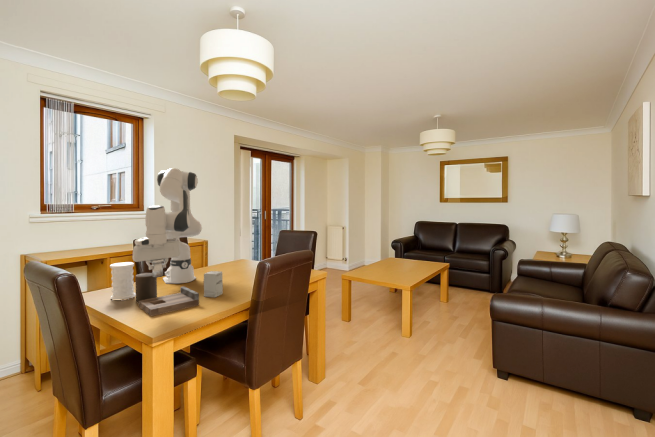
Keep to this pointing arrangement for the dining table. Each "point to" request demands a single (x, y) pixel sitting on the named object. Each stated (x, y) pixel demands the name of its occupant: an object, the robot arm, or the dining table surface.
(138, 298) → the pillar candle
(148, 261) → the robot arm
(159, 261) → the frosted bulb shape
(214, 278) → the supplement box
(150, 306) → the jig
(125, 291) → the decorative container
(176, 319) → the dining table surface
